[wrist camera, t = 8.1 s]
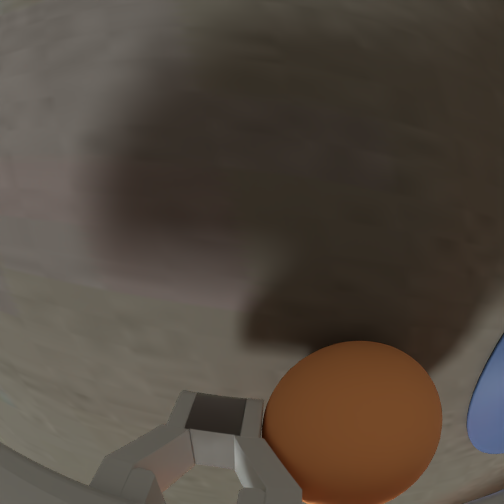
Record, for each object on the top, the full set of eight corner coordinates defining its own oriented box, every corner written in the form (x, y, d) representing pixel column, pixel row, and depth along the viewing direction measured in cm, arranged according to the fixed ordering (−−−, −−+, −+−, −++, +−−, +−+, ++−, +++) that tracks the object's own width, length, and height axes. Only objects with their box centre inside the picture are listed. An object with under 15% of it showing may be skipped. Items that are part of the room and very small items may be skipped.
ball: (311, 299, 11) (459, 331, 9) (288, 416, 13) (409, 447, 10) (233, 373, 6) (485, 436, 4) (222, 504, 8) (387, 555, 5)
